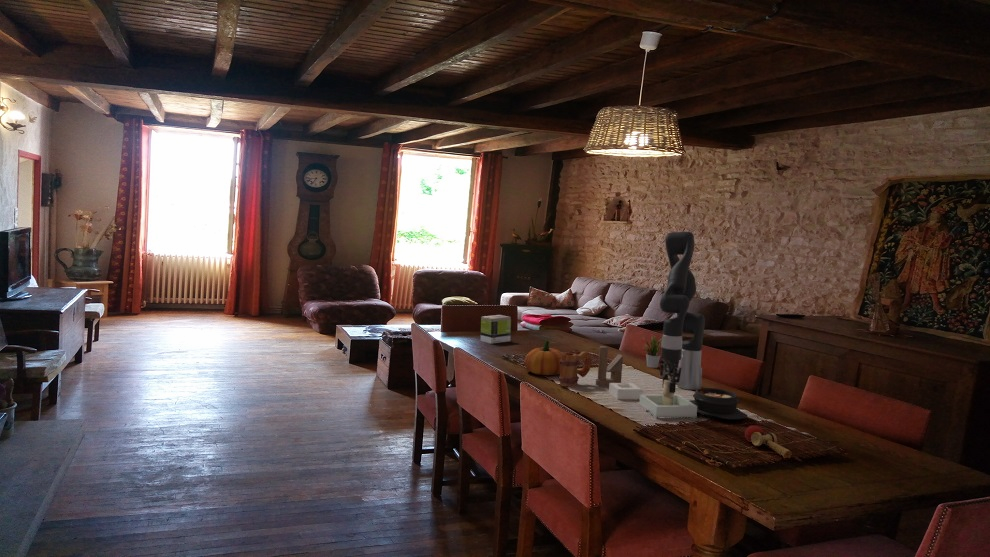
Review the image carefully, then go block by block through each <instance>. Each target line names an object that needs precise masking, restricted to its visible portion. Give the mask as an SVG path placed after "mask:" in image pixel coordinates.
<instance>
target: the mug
mask: <svg viewBox="0 0 990 557" xmlns="http://www.w3.org/2000/svg"><path fill="white" fill-rule="evenodd" d="M580 361H582V362H583V366H582V368H581V369H578V365H579V363H580ZM559 363H560V364H561V373H560V374H559V377H558V379H557V381H558V382H559V384H560V386H562V387H565V388H569V387H574V386H577V385H578V381H579V379H580V377H582V378H584V377H586V376H587V375H588V374H589V372H590V369H591V368H592V367H591V366H592V359H591V356H590V354H589V353H588V352H587V351H584V350H583V351H581V352H580V353H579V354H576V353H573V352H563V353H562V359H561V360H560V362H559ZM579 376H580V377H579Z"/></svg>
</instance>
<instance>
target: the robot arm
mask: <svg viewBox="0 0 990 557" xmlns="http://www.w3.org/2000/svg"><path fill="white" fill-rule="evenodd" d="M664 241H665V249H666V253H667V254H666V255H667V258H668V261H669V266H670V271H669V273H668V276H667V284H666V289H665V290H664V292H663V294H662V296H661V298H660V303H659V308H660V310H661V311H662V312H664V313H669V314H670V313H671V314H676V315H677V316H676V317H673V318H666V319H664V321H663V327H662V328H663V329H662V337H661V338H662V340H661V342H662V343H661V344H662V345H660V348H661V349H660V359H659V369H660V370H659V375H660V376H661V378H662V385H661V386H662V388H663V385H664V380H670V384H669V392H670V393H674V394H675V393H676V390H677V389H676V388H677V387H678V388H680V389H684V390H692V391H693V390H694V391H696V390H697V389H701V388H702V378H703V377H702V376H703V375H702V374H703V367H702V366H701V365H702V363H701V362H702V350H703V344H704V343H703V342H704V341H703V340H704V333H705V332H704V331H705V324H706V319H705V316H704V314H702V313H697V312H688V310H689V306H690V302H691V301H692V300H693V298H694V296H695V295H696V292H697V284H696V279H695V278H696V277H695V276H694V273H693V272H692V271H691V270H690V266H691V263H692V259H693V255H694V251H695V237H694V234H693V233H692V232H691V231H675V232H668V233H666V235H665V240H664ZM679 255H682V256H681V258H679ZM683 334H689V335H693V337H692V338H690V339H687V340H683ZM676 384H677V385H676ZM676 386H677V387H676Z"/></svg>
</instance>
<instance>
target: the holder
mask: <svg viewBox="0 0 990 557" xmlns="http://www.w3.org/2000/svg"><path fill="white" fill-rule="evenodd" d="M608 394H610V395H611V396H612V397H613V398H615V399H616V400H640V395H642V388H640V387H639V386H637V385H636V384H635V383H633V382H621V383H609V386H608Z"/></svg>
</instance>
